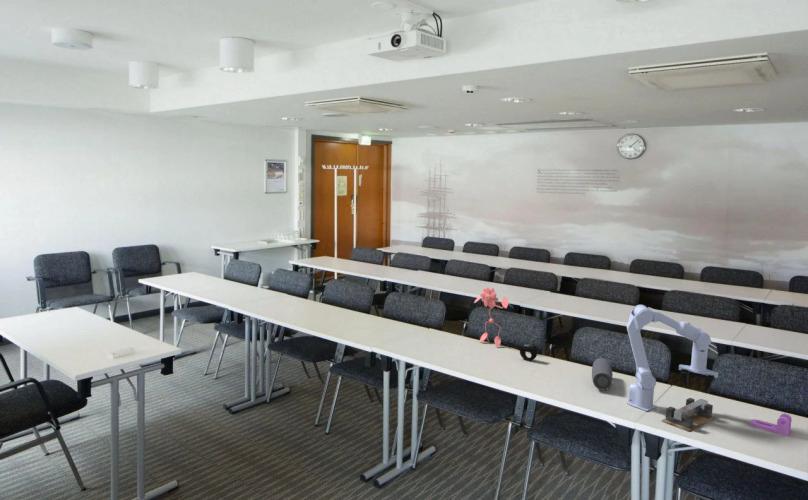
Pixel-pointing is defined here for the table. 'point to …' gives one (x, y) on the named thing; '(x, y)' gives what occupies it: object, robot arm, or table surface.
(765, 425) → the bracket
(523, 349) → the controller
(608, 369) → the bluetooth speaker
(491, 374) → the table surface
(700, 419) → the board
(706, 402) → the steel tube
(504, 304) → the figurine
